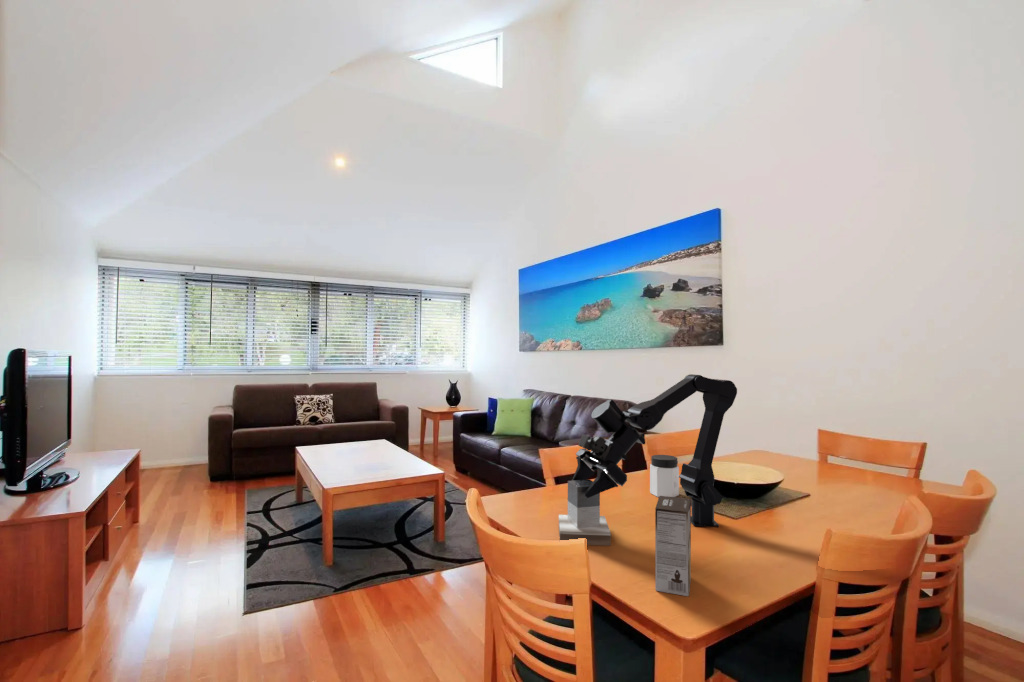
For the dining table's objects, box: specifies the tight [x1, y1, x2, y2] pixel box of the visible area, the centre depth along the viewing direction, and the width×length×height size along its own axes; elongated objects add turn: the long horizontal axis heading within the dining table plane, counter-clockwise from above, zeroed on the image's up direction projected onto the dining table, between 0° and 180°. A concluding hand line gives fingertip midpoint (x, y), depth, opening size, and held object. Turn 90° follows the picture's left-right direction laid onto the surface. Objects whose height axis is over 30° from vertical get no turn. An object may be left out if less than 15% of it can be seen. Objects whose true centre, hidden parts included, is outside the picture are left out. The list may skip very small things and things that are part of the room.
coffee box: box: [654, 496, 692, 597], centre depth 96 cm, size 9×6×16 cm
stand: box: [558, 513, 612, 547], centre depth 121 cm, size 12×12×3 cm
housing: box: [567, 478, 601, 529], centre depth 122 cm, size 6×6×10 cm
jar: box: [649, 454, 680, 498], centre depth 157 cm, size 9×8×12 cm
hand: (578, 491), depth 121 cm, fingers open, 9 cm apart
